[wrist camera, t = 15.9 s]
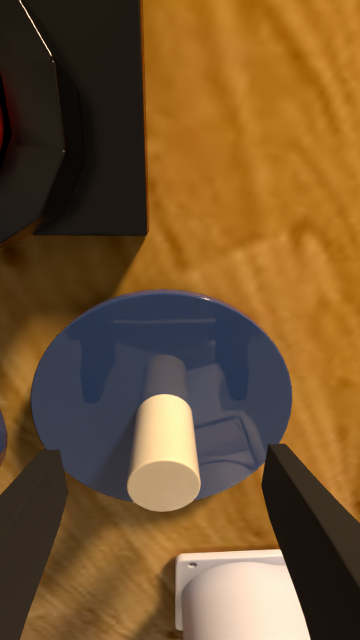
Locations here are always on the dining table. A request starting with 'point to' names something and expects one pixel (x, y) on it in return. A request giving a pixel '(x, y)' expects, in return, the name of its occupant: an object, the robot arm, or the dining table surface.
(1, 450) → the pot
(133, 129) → the block
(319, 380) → the dining table surface
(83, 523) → the dining table surface
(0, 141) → the button
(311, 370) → the dining table surface
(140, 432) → the lid
